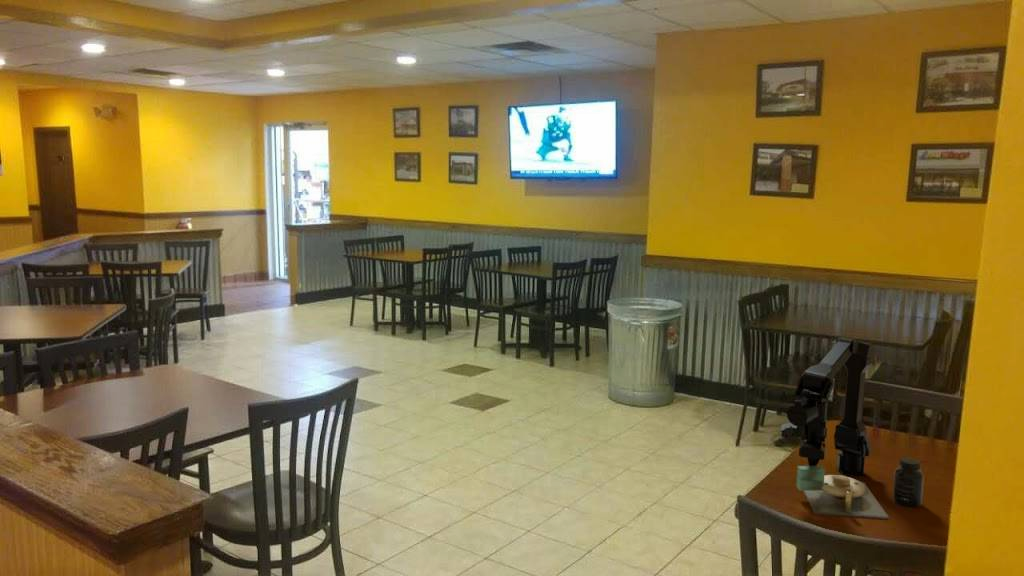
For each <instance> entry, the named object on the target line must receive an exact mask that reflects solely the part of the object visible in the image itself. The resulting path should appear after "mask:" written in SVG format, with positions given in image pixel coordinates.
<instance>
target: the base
mask: <svg viewBox="0 0 1024 576" xmlns="http://www.w3.org/2000/svg"><path fill="white" fill-rule="evenodd" d="M860 482H861V483H863V484H864V485H865V494H864V495H863V496H860V497H854V498H852V492H851V491H846V497H839V496H835V495H831V494H828V493H826V492H824V491H822V490H804V491H803V494H804V495H805V498H806V499H807V502H808V504H809V505H810V507H811V509H812V511H813V514H815V515H828V516H829V515H830V516H841V517H842V516H844V517H856V518H857V517H858V518H871V519H880V520H881V519H884V520H889V519H890V517H889V515H888V514H887V513H886V511H885V509H884V508H883V506H881V504H880V503H879V501H878V500H877V498H876V497H875V496H874V495H873V494H874V493H872V491H870V489H869V487H868V486H867V485H866V483H865V482H864V481H860Z"/></svg>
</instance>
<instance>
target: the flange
mask: <svg viewBox="0 0 1024 576" xmlns="http://www.w3.org/2000/svg"><path fill="white" fill-rule="evenodd" d="M825 472H826V469H825V468H824V467H823V466H822V465H817V466H809V465H797V473H796V485H795V486H796V488H797V489H798V490H799V491H804V490H822V491H824V492H826V493H828V494H831V495H835V496H839V497H846V491H851V492H852V498H854V497H860V496H863V495H864V494H865V485H866V484H865V485H864V484H863V483H861V482H862V481H859V480H857V479H855V478H853V477H848V476H846V475H844V474H827V475H826V474H825Z"/></svg>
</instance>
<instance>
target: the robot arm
mask: <svg viewBox="0 0 1024 576" xmlns="http://www.w3.org/2000/svg"><path fill="white" fill-rule="evenodd" d="M876 353H877V352H876V348H875V347H874V346H873V344H872V343H870V342H864V341H858V340H856V339H854V338H850V337H849V338H848V337H843V336H842V337H838V338H837V339H836V340H835V344H834V345H833V347H832V348H831V349H830V350H828V353H827V354H826V355H825V356H824V358H822V360H821V361H820V362H819V363H818V364H815V365H812V366H810V367H808V368H807V369H806V370H805V371H804V372H803V373H802V374H801V376H800V378H799V381H798V384H797V387H796V389H795V391H794V397H795V398H799V399H795V400H794V404H793V405H791V406H789V408H787V411H786V418H787V419H788V421H789V422H788V423H787V422H786V423H783V424H781V425H780V433H781V437H782V438H783V441H789V440H792V439H798V438H800V440H801V443H800V444H799V448H798V449H799V450H798V457H801V458H807V463H808V466H818V464H819V462H820V460H821V461H822V460H825V453H826V439H827V438H828V437H827V435H828V428H827V414H828V412H827V410H828V400H829V399H830V398H831V393H832V391H833V388H834V385H835V376H836V375H837V373H838V372H839V371H840V370H841V368H842V367H843V366H844V367H845V369H846V372H847V373H846V374H847V375H846V384H845V395H844V407H843V416H842V417H843V419H841V421H839V423H838V424H836V425H835V431H834V434H833V441H834V442H833V443H834V449H835V450H838V451H839V453H838V454H837V457H836V458H837V459H836V460H837V461H836V467H837V469H838V470H839V471H840V473H841V475H849V476H851V475H852V476H863V477H864V476H866V473H865V470H864V469H865V458H866V457H870V456H871V455H870V454H871V452H872V445H871V443H870V441H869V439H868V437H867V428H866V426H865V425H864V423H863V421H862V418H863V417H862V416H863V415H862V413H863V405H864V402H863V401H864V396H865V394H864V393H865V385H866V384H865V381H866V373H867V371H868V370H869V369H870V368H871V367H872V365H873V363H874V359H875V357H876Z"/></svg>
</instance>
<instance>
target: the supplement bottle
mask: <svg viewBox="0 0 1024 576" xmlns="http://www.w3.org/2000/svg"><path fill="white" fill-rule="evenodd" d="M924 476H925V475H924V474H923V472H922V471H921V461H920V460H919V459H916V458H912V457H901V458H900V460H899V467H898V468H896V469H895V470H894V481H893V495H892V496H893V497H892V498H893V501H894V503H895V504H896V505H899V506H901V507H903V508H909V509H911V508H912V509H913V508H915V509H917V508H920V507H921V505H922V502H923V492H924V479H925V477H924Z"/></svg>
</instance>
